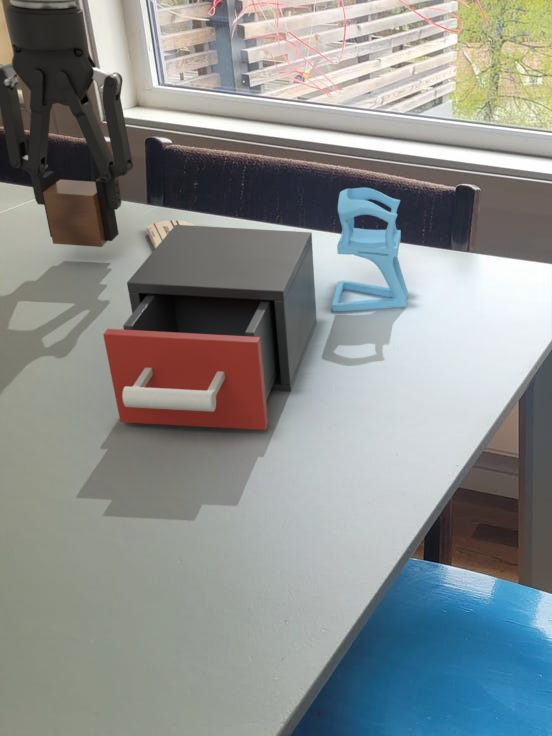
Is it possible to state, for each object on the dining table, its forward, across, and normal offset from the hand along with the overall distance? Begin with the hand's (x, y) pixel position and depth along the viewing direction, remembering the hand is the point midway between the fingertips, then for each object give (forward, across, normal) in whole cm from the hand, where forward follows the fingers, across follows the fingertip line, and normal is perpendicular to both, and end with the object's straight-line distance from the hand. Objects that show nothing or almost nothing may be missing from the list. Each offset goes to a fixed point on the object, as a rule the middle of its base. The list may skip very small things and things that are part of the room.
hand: (84, 235), depth 117 cm
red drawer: (+2, +22, -37) cm, 43 cm away
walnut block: (0, 0, 0) cm, 0 cm away
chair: (+3, +34, -8) cm, 36 cm away
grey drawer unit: (+3, +22, -24) cm, 33 cm away
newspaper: (+3, +12, +1) cm, 12 cm away
